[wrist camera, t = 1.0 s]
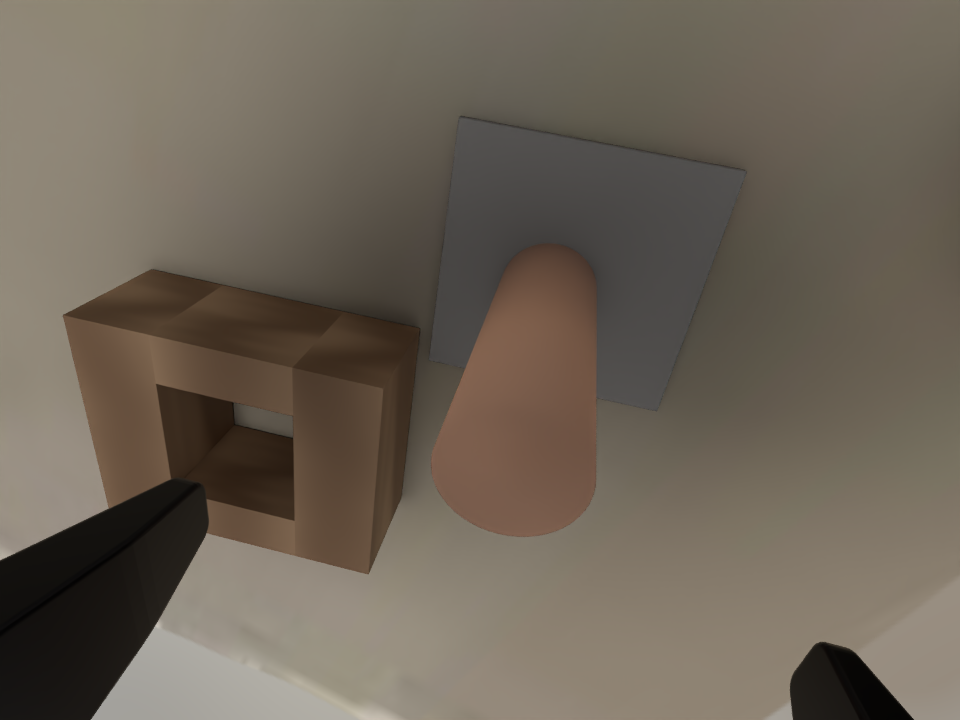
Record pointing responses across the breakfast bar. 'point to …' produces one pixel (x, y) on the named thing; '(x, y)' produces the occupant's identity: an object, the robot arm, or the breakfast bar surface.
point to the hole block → (258, 383)
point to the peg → (526, 402)
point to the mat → (584, 242)
